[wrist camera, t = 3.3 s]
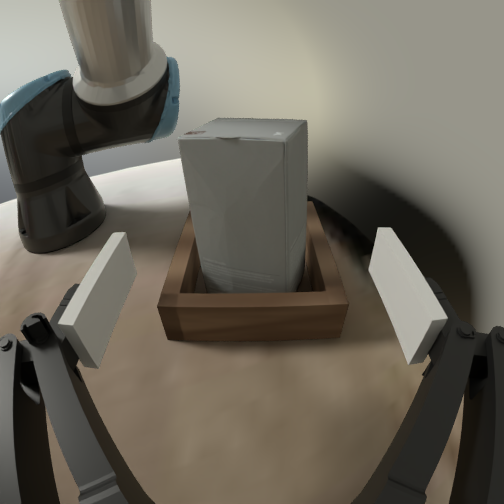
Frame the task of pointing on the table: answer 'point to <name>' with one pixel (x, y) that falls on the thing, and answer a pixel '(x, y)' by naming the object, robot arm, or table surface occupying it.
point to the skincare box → (248, 202)
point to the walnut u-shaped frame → (254, 299)
